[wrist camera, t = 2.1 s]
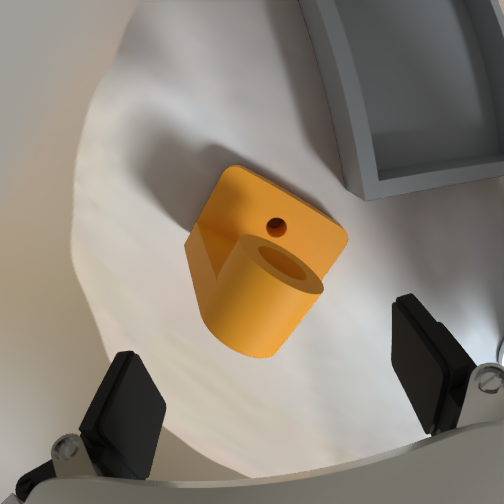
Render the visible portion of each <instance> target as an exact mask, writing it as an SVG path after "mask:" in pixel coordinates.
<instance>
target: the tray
mask: <svg viewBox="0 0 504 504" xmlns="http://www.w3.org/2000/svg"><path fill="white" fill-rule="evenodd" d="M298 1H299V4H300V7H301V10H302V13H303V16H304V19H305V22H306V25H307V28H308V32H309V35H310V38H311V41H312V45H313V48H314V52H315V55H316V58H317V62H318V66H319V69H320V73H321V77H322V80H323V84H324V88H325V92H326V96H327V100H328V104H329V109H330V113H331V117H332V122H333V126H334V131H335V135H336V140H337V145H338V150H339V155H340V160H341V165H342V170H343V176H344V182H345V187H346V190H348V191H349V192H351V193H353V194H354V195H356V196H357V197H359V198H361V199H362V200H364V201H370V200H375V199H380V198H385V197H390V196H395V195H401V194H406V193H411V192H416V191H421V190H427V189H432V188H438V187H443V186H449V185H454V184H460V183H465V182H471V181H477V180H482V179H488V178H494V177H500V176H504V15H503V13H502V10H501V8H500V5H499V2H498V0H298Z"/></svg>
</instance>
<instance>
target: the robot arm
mask: <svg viewBox="0 0 504 504" xmlns="http://www.w3.org/2000/svg"><path fill="white" fill-rule="evenodd" d="M391 362H392V366H393V369H394V371H395V373H396V375H397V377H398V378H399V380H400V382H401V384H402V386H403V388H404V390H405V392H406V394H407V396H408V398H409V400H410V402H411V404H412V406H413V409H414V411H415V413H416V415H417V417H418V419H419V421H420V423H421V425H422V427H423V430H424V432H425V433H426V434H431V436H432V437H429V438H426V439H423V440H420V441H418V442H415V443H412V444H409V445H406V446H403V447H400V448H397V449H394V450H390V451H387V452H384V453H380V454H377V455H374V456H370V457H366V458H363V459H359V460H355V461H351V462H347V463H343V464H339V465H335V466H330V467H325V468H320V469H315V470H310V471H304V472H299V473H292V474H286V475H279V476H271V477H263V478H253V479H243V480H229V481H205V482H172V481H171V482H170V481H149V480H145V479H146V478H148V477H149V475H150V471H151V466H152V462H153V459H154V455H155V450H156V447H157V443H158V439H159V435H160V431H161V427H162V424H163V420H164V416H165V412H166V403H165V401H164V399H163V397H162V396H161V394H160V392H159V390H158V389H157V387H156V385H155V384H154V382H153V380H152V378H151V377H150V375H149V373H148V371H147V369H146V368H145V366H144V364H143V362H142V360H141V358H140V357H139V355H138V354H135V353H134V352H133V351H123V352H118V353H117V354H116V356H115V358H114V360H113V362H112V363H111V365H110V367H109V369H108V371H107V373H106V375H105V377H104V379H103V381H102V383H101V385H100V386H99V388H98V390H97V393H96V394H95V396H94V398H93V400H92V402H91V404H90V406H89V408H88V410H87V412H86V414H85V417H84V419H83V421H82V423H81V425H80V427H79V430H80V431H81V435H80V436H78V435H77V434H73V433H72V434H66V435H63V436H62V437H60V438H59V439H58V440H57V441H56V442H55V443H54V445H53V446H52V449H51V457H52V459H51V460H50V461H48V462H46V463H44V464H42V465H41V466H39V467H37V468H35V469H34V470H32V471H30V472H28V473H26V474H25V475H23V476H22V477H21V478H20V479H19V480H18V482H17V484H16V489H15V490H16V495H15V494H13V493H12V494H11V495H10V496H9V497H8V498H6V499H5V500H4V501H3V502H2V503H1V504H504V341H503V343H502V345H501V348H500V352H499V358H498V362H499V364H497V363H485V364H481V365H479V366H478V367H477V365H476V364H475V363H474V361H473V360H472V359H471V358H470V356H469V355H468V354H467V353H466V351H465V350H464V349H463V348H462V346H461V345H460V344H459V343H458V341H457V340H456V339H455V338H454V337H453V335H452V334H451V333H450V332H449V331H448V329H447V328H446V327H445V326H444V325H443V324H442V323H441V322H437V321H436V320H435V319H434V318H433V317H432V315H431V314H430V313H429V312H428V311H427V310H426V308H425V307H424V306H423V305H422V304H421V303H420V301H419V300H418V299H417V298H416V297H415V296H414V295H413V294H412V293H410V294H407V295H403V296H400V297H397V298H396V302H394V303H392V351H391Z"/></svg>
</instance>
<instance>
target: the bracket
mask: <svg viewBox="0 0 504 504" xmlns="http://www.w3.org/2000/svg"><path fill="white" fill-rule="evenodd" d="M272 218H281V219H283V220H284V222H283V224H282V225H281V226H280V227H278V228H272V227H270V226H268V225H267V223H268V221H269V220H270V219H272ZM347 242H348V235H347V232H346V231H345V230H344V229H343V227H342V226H341V225H340V224H339V223H338V222H336V221H335V220H333V219H332V218H330V217H328V216H327V215H325V214H324V213H322V212H321V211H320V210H319V209H317V208H316V207H314V206H312V205H311V204H309V203H308V202H306V201H304V200H303V199H301V198H299V197H298V196H296V195H294V194H293V193H291V192H289V191H288V190H286V189H284V188H282V187H281V186H279V185H277V184H276V183H274V182H272V181H270V180H269V179H267V178H265V177H263V176H262V175H261V176H260V175H258V174H256V173H255V172H253V171H251V170H249V169H247V168H246V167H244V166H242V165H237V164H236V165H231V166H230V167H228V168H227V169H226V170H225V171H224V172H223V174H222V175H221V177H220V179H219V181H218V183H217V184H216V186H215V188H214V190H213V192H212V193H211V195H210V197H209V199H208V201H207V203H206V204H205V206H204V208H203V210H202V212H201V214H200V216H199V218H198V219H197V221H196V223H195V225H194V227H193V229H192V231H191V233H190V235H189V237H188V239H187V241H186V242H185V244H184V247H185V252H186V256H187V260H188V265H189V269H190V273H191V277H192V281H193V286H194V290H195V294H196V298H197V302H198V306H199V310H200V313H201V317H202V319H203V321H204V323H205V325H206V326H207V328H208V329H209V330H210V332H211V333H212V334H213V335H214V336H215V337H216V338H217V339H218V340H220V341H221V342H222V343H223V344H225V345H226V346H228V347H229V348H231V349H233V350H235V351H237V352H239V353H241V354H243V355H246V356H250V357H255V358H267V357H271V356H273V355H274V354H275V353H276V352H277V351H278V350H279V349H280V347H281V346H282V345H283V344H284V342H285V341H286V340H287V339H288V337H289V336H290V335H291V333H292V332H293V331H294V330H295V328H296V327H297V326H298V324H299V323H300V322H301V320H302V319H303V318H304V316H305V315H306V314H307V313H308V311H309V310H310V309H311V307H312V306H313V305H314V303H315V302H316V300H317V299H318V298H319V296H320V295H321V294H322V292H323V290H324V287H323V284H322V282H321V281H322V279H323V278H324V277H325V275H326V274H327V272H328V271H329V269H330V268H331V267H332V265H333V264H334V262H335V261H336V259H337V258H338V257H339V255H340V254H341V252H342V251H343V249H344V248H345V246H346V245H347Z"/></svg>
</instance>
